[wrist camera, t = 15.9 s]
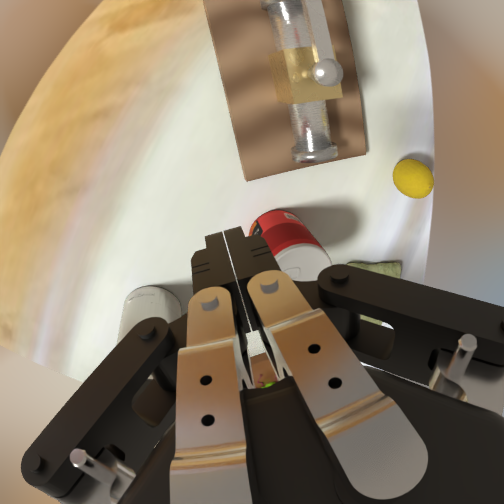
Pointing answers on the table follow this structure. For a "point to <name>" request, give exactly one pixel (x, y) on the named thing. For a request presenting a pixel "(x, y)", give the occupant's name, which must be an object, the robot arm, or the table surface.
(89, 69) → the table surface
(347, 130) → the walnut board
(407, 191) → the lemon
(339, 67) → the valve lever
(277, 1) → the valve body
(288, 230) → the canned food
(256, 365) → the plant
